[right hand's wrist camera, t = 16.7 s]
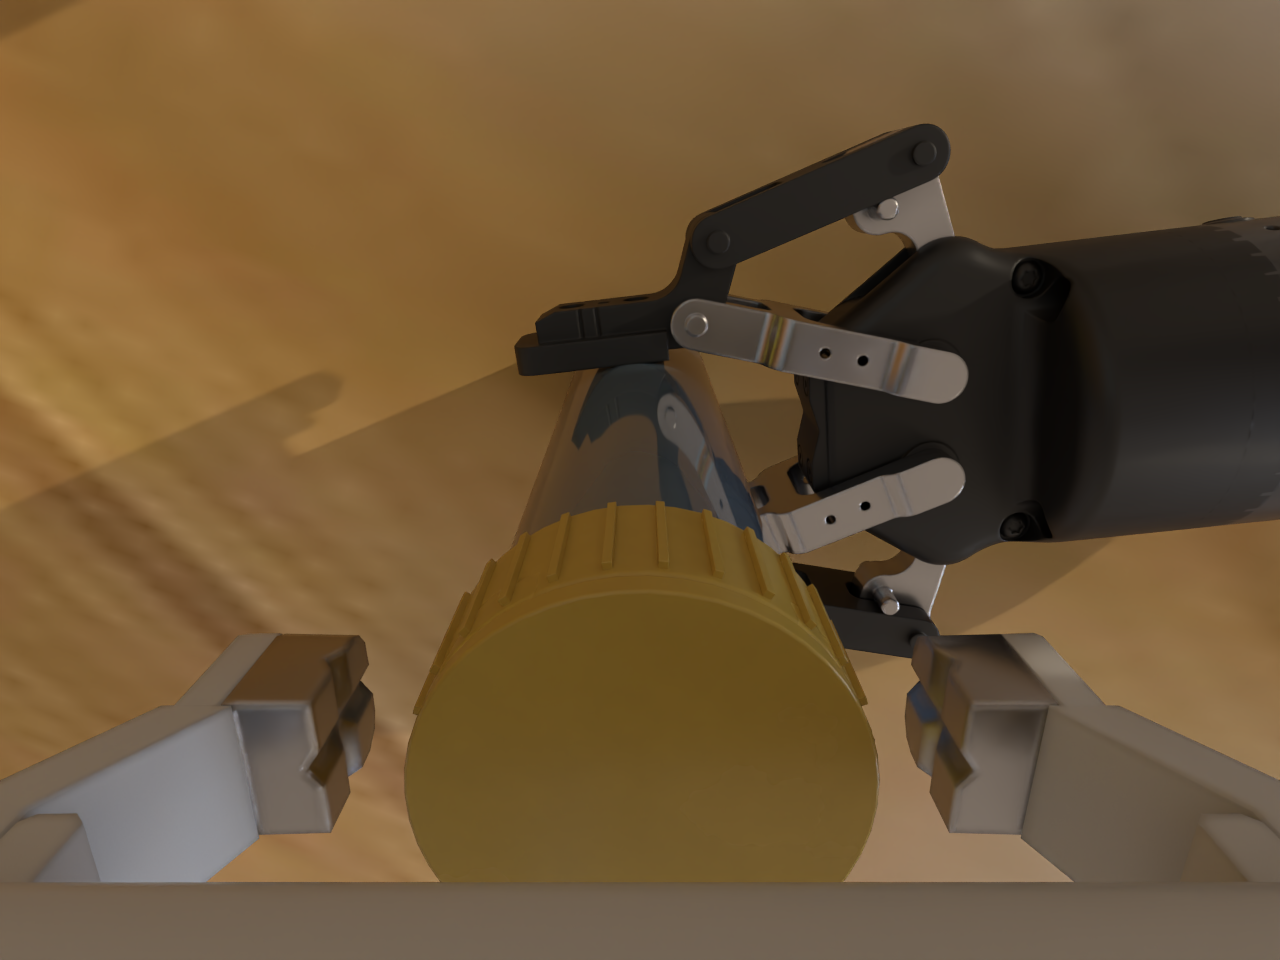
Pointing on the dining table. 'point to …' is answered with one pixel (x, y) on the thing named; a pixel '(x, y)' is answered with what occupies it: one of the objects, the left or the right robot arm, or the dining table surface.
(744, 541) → the lid
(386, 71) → the dining table surface
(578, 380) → the jar
